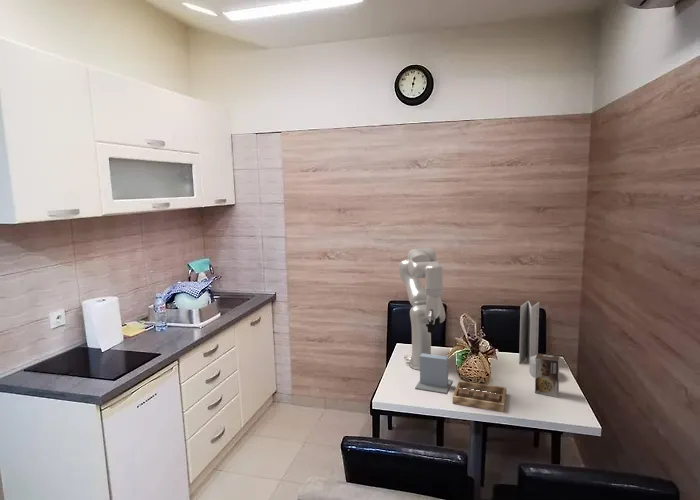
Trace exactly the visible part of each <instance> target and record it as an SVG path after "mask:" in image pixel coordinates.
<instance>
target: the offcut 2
mask: <svg viewBox="0 0 700 500" xmlns="http://www.w3.org/2000/svg"><path fill="white" fill-rule="evenodd" d="M472 399H478V400H484V401H486V400H485V393H484V392H478V391H475V392H474V394H473V398H472Z"/></svg>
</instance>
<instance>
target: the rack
mask: <svg viewBox="0 0 700 500" xmlns="http://www.w3.org/2000/svg"><path fill="white" fill-rule="evenodd" d="M463 388H467V389H465V390H469V389H474V390H470V398H466V397H459V390H460V389H463ZM476 390H480V391H478V392H482V391H487V392H484V393H485V399H486V400H485V401H484V400H478V399H473V398H471V397H473V394H474V392H475V391H476ZM489 392H491V394H495V393H496V394H497V395H500V403H496V402H490V401H488V399H489V394H490V393H489ZM506 399H507V387H503V386H498V385H492V384H484V383H477V382H471V381H466V380H459V381H458V383H457V384H456V387H455V390H454V392H453V395H452V404H454V405H459V404H460V406H465V405H466V406H467V407H471V406H472V407H473V408H477V409H483V410H489V409H490V410H489V411H495V412H502V413H504V412H505V411H504V410H505V405H506Z"/></svg>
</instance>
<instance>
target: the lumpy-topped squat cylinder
mask: <svg viewBox="0 0 700 500" xmlns="http://www.w3.org/2000/svg"><path fill="white" fill-rule="evenodd" d="M536 356H537V355H535V356H531V357H530V365H529V373H530V376H531V377H533V378H534V379H535V370H536Z"/></svg>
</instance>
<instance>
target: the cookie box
mask: <svg viewBox="0 0 700 500" xmlns="http://www.w3.org/2000/svg"><path fill="white" fill-rule="evenodd" d="M534 379H535V380H534V381H535V382H534V383H535V384H534V385H535V386H534V387H535V390H534V393H535V394H537V395H544V396H550V397H555V398H558V397H559V392H560V391H559V390H560V356H559V355H552V354H547V353H546V354H545V353H539V352H538V353H537V356H536V370H535V378H534Z"/></svg>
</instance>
